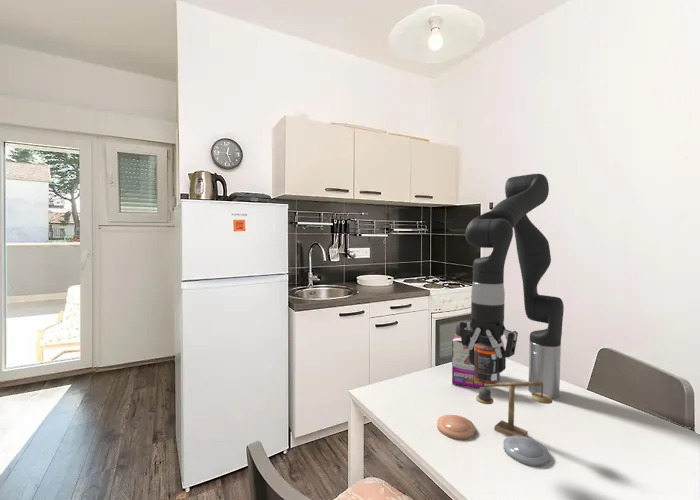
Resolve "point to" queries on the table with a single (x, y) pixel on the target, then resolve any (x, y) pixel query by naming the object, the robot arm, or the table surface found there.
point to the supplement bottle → (485, 361)
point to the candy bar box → (462, 366)
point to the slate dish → (526, 450)
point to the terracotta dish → (456, 427)
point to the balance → (511, 405)
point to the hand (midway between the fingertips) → (486, 367)
